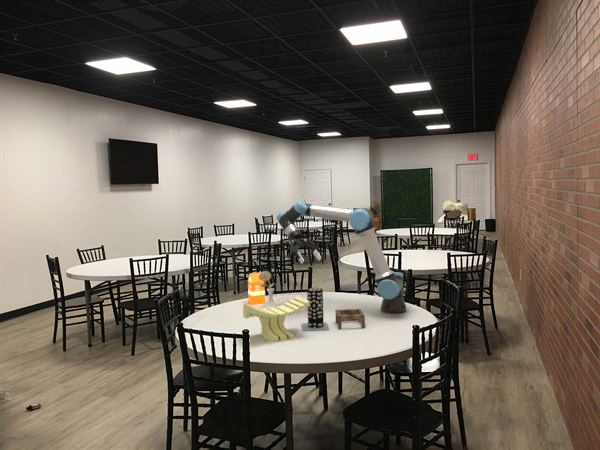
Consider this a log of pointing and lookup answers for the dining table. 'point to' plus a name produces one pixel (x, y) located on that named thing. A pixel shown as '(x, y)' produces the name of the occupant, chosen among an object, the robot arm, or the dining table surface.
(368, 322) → the dining table surface
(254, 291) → the orange juice
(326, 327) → the mat
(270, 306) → the flower in vase
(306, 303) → the slatted curved stool
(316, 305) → the spotted tube
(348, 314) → the square frame stand
